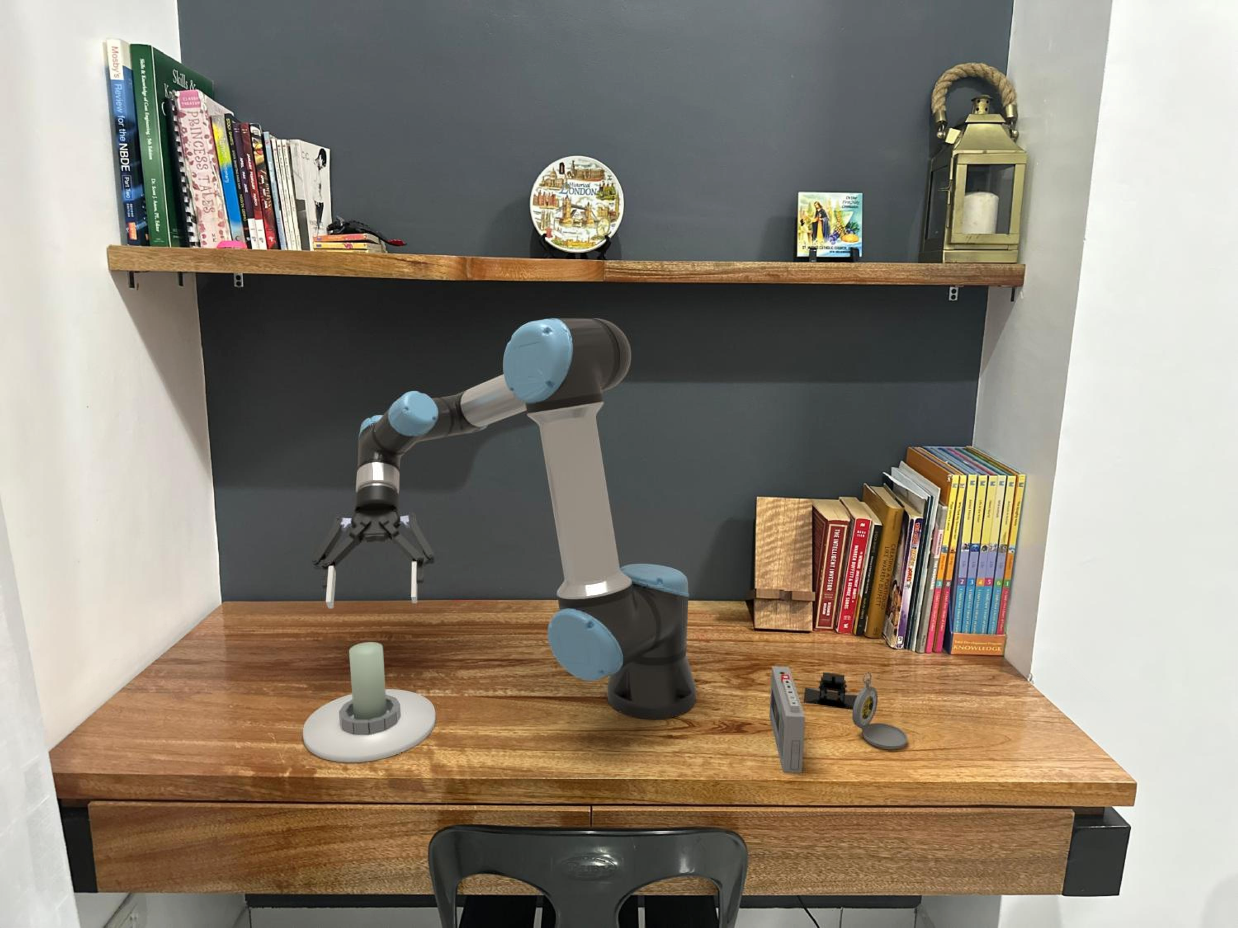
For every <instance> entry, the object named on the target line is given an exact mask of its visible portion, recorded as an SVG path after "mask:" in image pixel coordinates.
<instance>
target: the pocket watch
mask: <svg viewBox="0 0 1238 928" xmlns="http://www.w3.org/2000/svg"><path fill="white" fill-rule="evenodd" d="M867 674H869V677H867V678H866V679H865V676H866V675H867ZM872 679H873V678H872V673H871V672H870V671H866V672H864V674H863V676H862V683H864V684H865V686H864V687H863V688H861V689H860V691H859V693H858V694H857V695H858V696H857V698H856V700H855V703H854V707H853V710H852V714H851V715H852V716H851V717H852V722H853V724H854V726H856V727H857V728H859V729H861V730H862V737H863V739H864V740H865V741H866V742H867V743H868V744H870V745H872V746H875V747H877V748H881V749H885V750H897V749H902V748H903V747H905V746H906V745H907V743H908V736H907V734H906V733H905V732H904V731H903V730H902V729H900V728H899V727H897V726H894V725H891V724H887V723H882V722H881V723H880V722H879V723H878V722H877V723H876V722H873V723H871V722H872V721H873V718H874V717H875V714H876V711H877V708H878V703H879V702H878V701H879V699H878V697H879V696H878V691H877V689H876V688H875V687H874V686H872V685H871V683H872V682H871V680H872Z"/></svg>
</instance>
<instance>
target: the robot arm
mask: <svg viewBox="0 0 1238 928" xmlns="http://www.w3.org/2000/svg"><path fill="white" fill-rule="evenodd" d="M503 353H504V354H503V361H502V362H503V363H502V370H503V371H502V372H503V374H501V375H499V376H495V377H494V378H492V379H489V380H487V381H485V382H482V383H479V384H477V385H475V386H473V387H470V388H469V389H467V390H464V391H462V392H461V391H460V392H459V393H457V394H454V395H449V396H441V397H434V398H431V396H429V395H428V394H426V393H422V392H420V391H417V390H412V391H407V392H405V393H404V394H402V396H400V397H399V398H398V399H396V401H393V403H392V404H391V405H390V407H389V408H388V409H387V411H386V412H384V414H383V415H381V414H379V415H378V414H377V415H373V416H372V417H367V418H366V419H365V420H363V422H362V423H361V425H360V429H359V430H360V431H359V434H358V439H357V441H358V443H357V444H358V455H357V469H356V471H357V472H356V482H355V483H356V484H355V492H356V493H355V498H354V499H355V500H354V501H355V502H354V511H353V512H354V513H353V516H352V517H351V518H349V517H348V518H347V517H343V516H342V515H341V514H337V515H336V516H335V517H334V521H333V525H332V527H331V529H330V530H329V532H328V533H327V535H326V536H325V538H324V539H323V541H322V543H321V544H320V545H319V547H318V549H316V551H315V553H314V555H313V556H312V558H311V560H310V562H311V564H312V567H313V568H314V570H321V575H320V576H321V577H320V579H321V580H320V584H321V586H322V589H326V596H325V603H326V605H327V608H328V609H334V607H335V606H334V603H335V592H336V578H337V577H336V574H337V572H336V571H337V570H336V569H335V567H336V566H338V565H339V563H341V562H342V561H343V560H344V559H345V558H346V557H347V556H348V555H349V554H351V552H352V551H353V550H354V549H355V548H356V547H358V546H359V545H360V544H362V543H363V542H364V541H365V542H367V543H374V542H379V543H380V542H381V543H382V542H383V543H384V542H386V540H387V541H388V540H390V541H391V542H392V543H393V544H395V545H396V546H397V547H398V548H399V549H400V550H401V551H402V552H403V553H404V555H405V556H407V557H408V558H409V559H410V560H411V589H410V590H411V591H410V594H411V595H410V596H411V603H412V604H418V584H423V583H424V582H425V567H426V566H427V565H429V564H431V565H433V564H434V563H435V562H436V559H435V558H436V557H435V552H434V550H433V549H432V547H431V546H430V544H429V542H428V541H427V539H426V537H425V535H424V533H423V532H422V530H421V529H420V526H419V524H418V523H417V519H416V517H417V516H416V513H415V512H413V511H410V512H409V513H408V514H407V515H403V516H402V515H401V516H400V514H399V506H400V505H399V504H400V500H399V499H400V495H399V494H400V472H401V471H400V470H401V469H400V468H401V466H400V465H401V458H402V457H403V455H404V454H406V453H407V452H408V451H409V450H410V449H412V447H414V445H416V443H419V442H424V441H429V440H436V439H442V438H447V437H451V436H458V435H463V434H465V435H466V434H474V433H476V432H480V431H483V430H485V429H486V428H487V427H488V425H490V424H493V423H496V422H498V421H502V420H503V419H506V418H510V417H512V416H514V415H517V414H520V413H523V412H525V411H526V415H527V417H528V418H530V419H531V420H532V421H534V422H535V423H536V424H537V425H538V426H539V432H540V438H541V445H542V451H543V456H544V457H543V458H544V462H545V468H546V469H545V470H546V474H547V481H548V486H549V487H548V488H549V492H550V498H551V503H552V511H553V517H554V523H555V529H556V535H557V541H558V547H559V554H560V559H561V565H562V572H563V578H564V580H563V582H562V584H561V585H560V586H559V588H558V589H557V591H556V596H557V603H558V609H559V611H557V612H556V613H554V615H553V616H552V617H551V620H550V622H549V623H548V626H547V640H548V643H549V647H550V650H551V652H552V654H553V656H554V658H555V659H556V661H557V662H558V663H559V665H560V666H562V667H564V669H565V670H566V671H567V672H568V673H570V674H571V675H572V676H574V677H576V678H578V679H580V680H583V681H589V682H590V681H591V682H594V681H599V680H601V679H603V678H606V677H607V676H609V679H608V680H607V689H606V690H607V691H606V692H607V693H606V694H607V695H606V697H607V698H606V699H607V701H608V703H609V705H610V706H611V707H613V709H615V710H616V711H618V712H620V713H622V714H624V715H627V716H629V717H632V718H633V717H634V718H638V719H645V720H662V719H670V718H673V717H677V716H680V715H682V714H684V713H687V712H688V711H690V710H691V709H692V707H693V706H694V705H695V703H696V697H697V696H696V694H697V693H696V692H697V688H696V682H695V678H694V675H693V673H692V669H691V666H690V663H689V659H688V657H687V650H688V647H687V646H688V645H687V644H688V639H687V638H688V619H689V618H688V616H689V612H688V611H689V597H690V593H689V582H688V581H689V580H688V577H687V576H686V575H685V574H684V573H683V572H682V571H681V570H678V569H675V568H673V567H670V566H665V565H661V564H651V563H632V564H627V565H623V566H622V567H620V562H619V556H618V549H617V542H616V536H615V530H614V525H613V518H612V513H611V505H610V499H609V492H608V487H607V486H608V485H607V481H606V480H607V479H606V475H605V468H604V462H603V461H604V460H603V456H602V455H603V453H602V449H601V442H600V435H599V430H598V423H597V418H596V417H597V414H598V412H599V411H600V410H601V408H602V407H603V406H604V397H603V392H605V391H608V390H611V389H612V388H614V387H616V386H617V385H618V384H619V383H621V382H622V380H624V378H625V377H626V375H627V374H628V373H629V369H630V366H631V360H632V350H631V345H630V343H629V340H628V338H627V336H626V335H625V333H624V332H623V331H622V330H621V329H620V328H619V326H617V325H616V324H614V323H613V322H611V321H608V320H606V319H602V318H599V317H597V318H594V317H589V318H586V317H585V318H556V317H555V318H552V317H551V318H545V319H539V320H533V321H529V322H527V323H525V324H523V325H520V327H519V328H518V329H516V330H515V331H514V332H513V334H512V335H511V339H510V340H509V342H507V344H506V347H505V350H504V352H503ZM401 525H404V527H405V528H406V529H410V530H409V531H410V533H411V534H412V536H413V537H414V539H415V541H416V543H417V545H418V546H419V548H420V550H421V552H422V553H423V554H421V553H420V552H419V551H418V550H417V549H416V548H415V547H414V546H413V545H412V544H411V543H410V542H409V541H408V540H407V539H406V538H405V537H404V536H403V535H402V534H401V533H400V531H399V530H398V528H399V527H401ZM349 527H351V528H353V529H352V530H351V531H350V533H349V534H348V536H347V537H346V538H345V539H344V540H343V541H342V542H341V543H340V544H339V545H338V546H337V547H336V548H335V546H336V545H337V543H338V541H340V539H341V536H342V535H343V532H345V531H347V529H348V528H349ZM333 549H334V550H333Z"/></svg>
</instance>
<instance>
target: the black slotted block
mask: <svg viewBox="0 0 1238 928" xmlns="http://www.w3.org/2000/svg"><path fill="white" fill-rule="evenodd" d="M846 681H847V680H845V674H837V673H831V672H824V671H823V672H822V676H821V677H820V680H819V682H818V683H819V686H818V689H817V688H812V687H805V688H804V693H803V694H804V695H803V702H802V703H806V704H811V705H817V706H824V707H830V708H838V709H844V710H851V711H853V707H854V703H855V700H856V698H857V696H858V694H854V693H853V694H852V693H847V689H846V688H848V685H847V682H846Z"/></svg>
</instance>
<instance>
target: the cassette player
mask: <svg viewBox="0 0 1238 928" xmlns="http://www.w3.org/2000/svg"><path fill="white" fill-rule="evenodd" d="M790 669H791V668H790V666H777V665H776V666H775V665H773V666H772V665H771V678H770V679H771V680H770V694H769V695H770V696H769V698H770V699H769V716H768V717H769V720H770V726H771V729H772V732H773V738H774V741H775V745H776V748H777V754H778V757H779V758H778V759H779V761H780V766H781V770H782V773H789V774H790V773H791V774H793V773H794V774H802V772H803V761H804V760H803V759H804V758H803V757H804V744H805V743H804V742H805V728H806V727H805V725H806V715H805V713H804V709H803V706H802V703H801V700H800V698H799V697H800V696H799V694H798V693H799V692H798V691H797V688H796V685H795V682H794V679H793V676H792V673H791V670H790Z"/></svg>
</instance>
